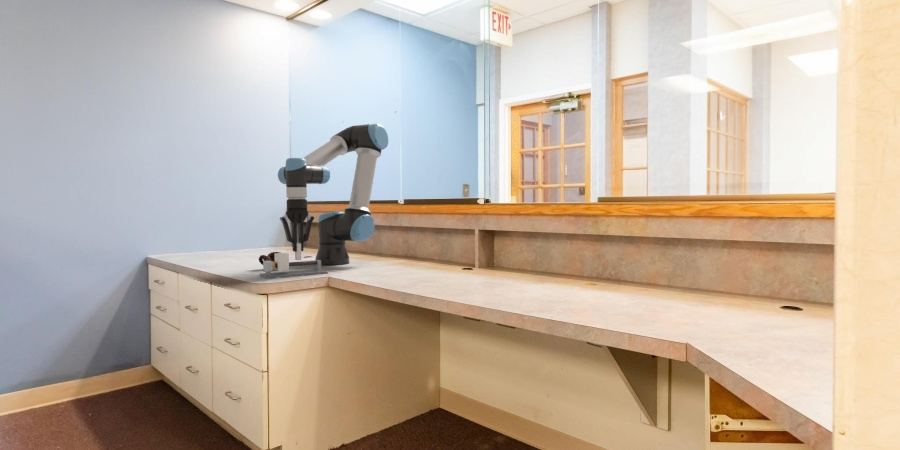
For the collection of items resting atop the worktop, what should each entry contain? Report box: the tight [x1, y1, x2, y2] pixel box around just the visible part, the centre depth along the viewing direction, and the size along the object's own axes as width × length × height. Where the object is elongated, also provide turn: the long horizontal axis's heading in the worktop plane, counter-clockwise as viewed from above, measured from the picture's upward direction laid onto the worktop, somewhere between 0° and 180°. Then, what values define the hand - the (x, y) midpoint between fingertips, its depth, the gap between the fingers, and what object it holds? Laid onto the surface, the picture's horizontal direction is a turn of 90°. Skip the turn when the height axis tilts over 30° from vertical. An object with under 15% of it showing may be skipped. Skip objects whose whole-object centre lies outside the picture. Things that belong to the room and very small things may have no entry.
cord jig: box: [259, 259, 329, 279], centre depth 196 cm, size 23×10×6 cm, turn 125°
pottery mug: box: [258, 251, 281, 266], centre depth 212 cm, size 12×10×8 cm
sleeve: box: [274, 252, 290, 272], centre depth 193 cm, size 4×5×6 cm
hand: (298, 259), depth 197 cm, fingers closed
